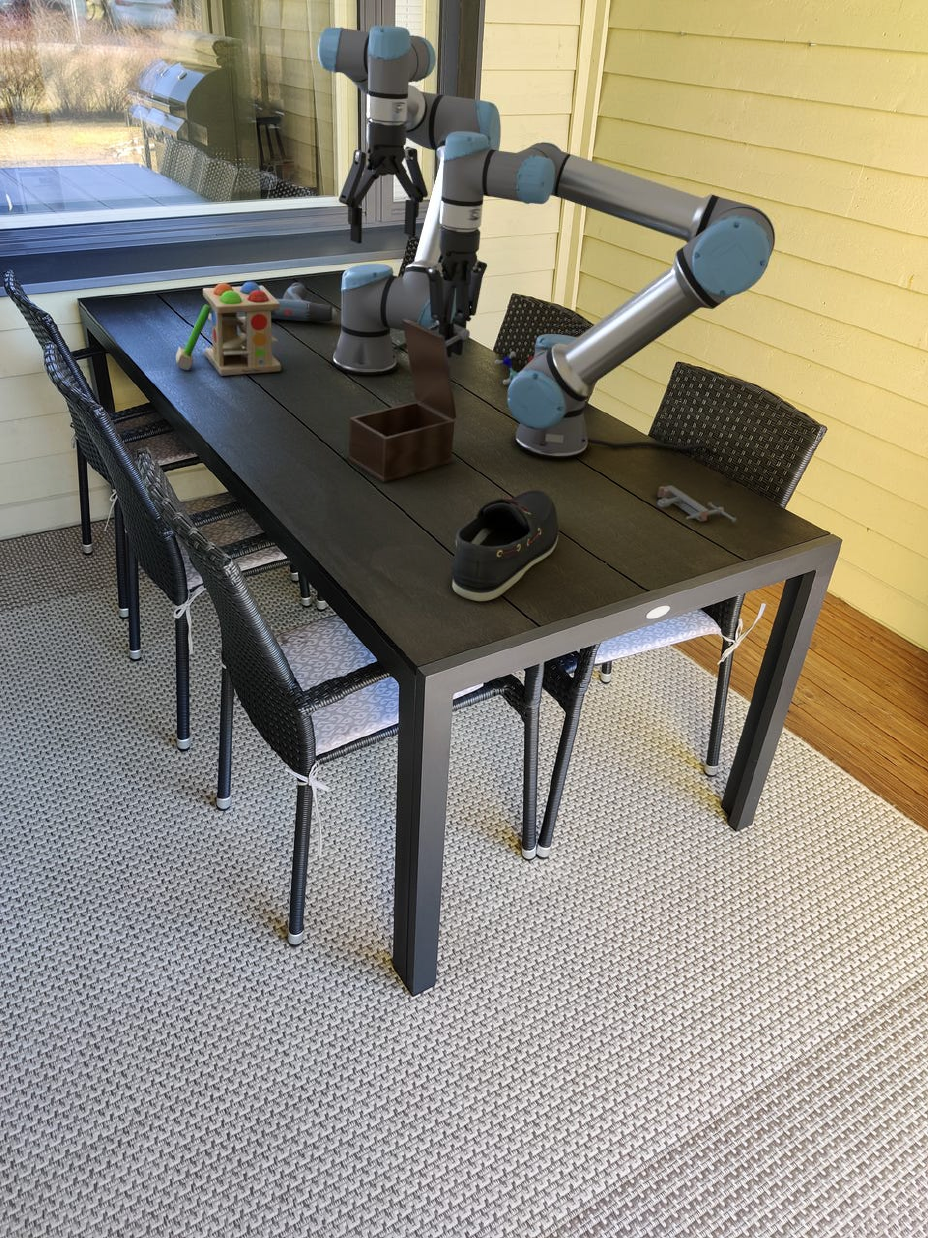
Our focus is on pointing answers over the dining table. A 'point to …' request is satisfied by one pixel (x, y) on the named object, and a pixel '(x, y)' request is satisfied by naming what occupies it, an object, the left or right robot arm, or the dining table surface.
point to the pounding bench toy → (229, 347)
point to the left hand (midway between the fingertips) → (383, 238)
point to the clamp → (669, 498)
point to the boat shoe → (503, 544)
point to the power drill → (301, 307)
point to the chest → (400, 440)
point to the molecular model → (507, 362)
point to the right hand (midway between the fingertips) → (450, 353)
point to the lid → (432, 364)
